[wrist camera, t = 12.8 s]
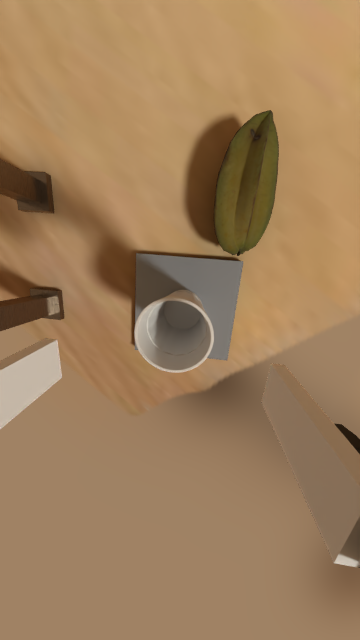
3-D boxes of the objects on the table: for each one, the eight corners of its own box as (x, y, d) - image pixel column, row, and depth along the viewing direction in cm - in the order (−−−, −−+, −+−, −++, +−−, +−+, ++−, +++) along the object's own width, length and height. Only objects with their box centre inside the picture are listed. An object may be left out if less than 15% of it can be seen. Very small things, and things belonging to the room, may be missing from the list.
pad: (138, 253, 30) (135, 253, 29) (241, 261, 29) (243, 261, 27) (137, 347, 34) (134, 349, 33) (226, 357, 33) (227, 360, 32)
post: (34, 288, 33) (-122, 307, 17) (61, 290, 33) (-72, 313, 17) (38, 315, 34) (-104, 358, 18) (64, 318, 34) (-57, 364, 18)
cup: (151, 320, 31) (123, 353, 20) (169, 275, 29) (150, 283, 17) (195, 340, 32) (193, 384, 20) (217, 297, 29) (228, 318, 18)
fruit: (182, 198, 27) (178, 177, 21) (256, 131, 24) (277, 83, 18) (227, 263, 29) (236, 263, 23) (301, 208, 26) (334, 190, 20)
